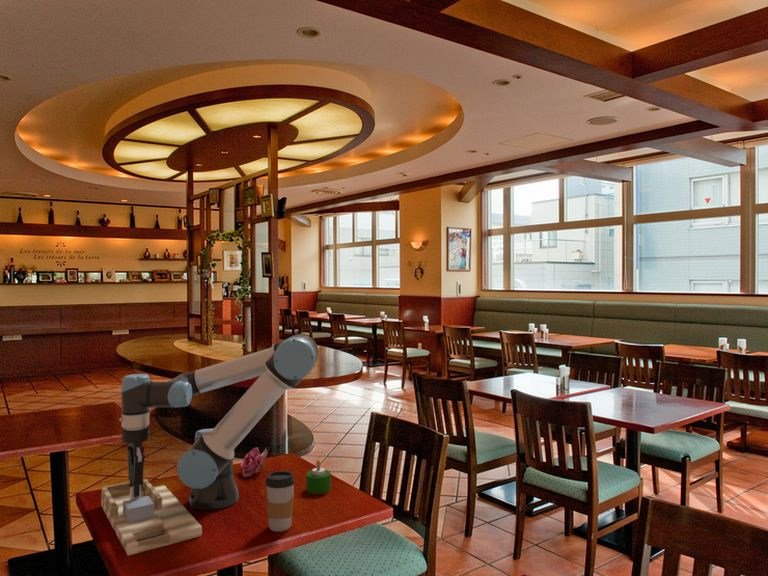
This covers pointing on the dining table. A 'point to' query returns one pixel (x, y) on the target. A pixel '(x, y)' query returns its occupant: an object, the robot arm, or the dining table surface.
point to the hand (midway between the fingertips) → (135, 506)
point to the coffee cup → (280, 499)
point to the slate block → (138, 509)
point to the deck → (153, 532)
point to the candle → (318, 480)
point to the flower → (253, 462)
